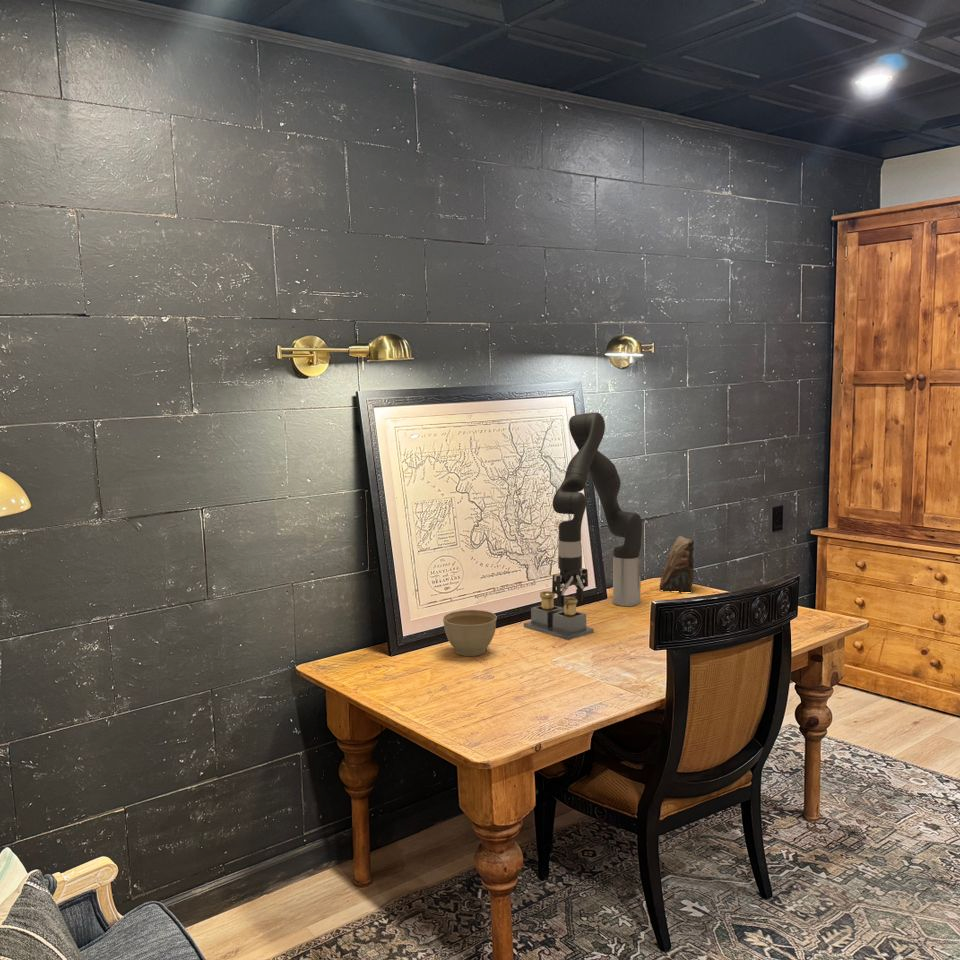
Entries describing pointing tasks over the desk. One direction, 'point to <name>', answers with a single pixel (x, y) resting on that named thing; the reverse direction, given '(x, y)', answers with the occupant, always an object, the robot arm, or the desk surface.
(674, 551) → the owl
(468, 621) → the planter bowl
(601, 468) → the robot arm
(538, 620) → the grey double holder
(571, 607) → the brass stub
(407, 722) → the desk surface
